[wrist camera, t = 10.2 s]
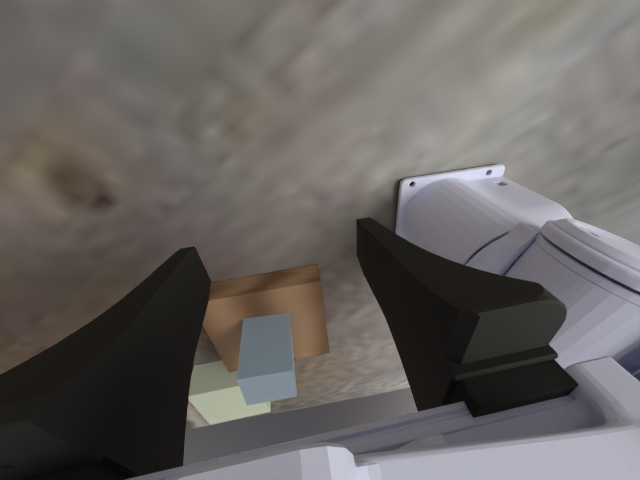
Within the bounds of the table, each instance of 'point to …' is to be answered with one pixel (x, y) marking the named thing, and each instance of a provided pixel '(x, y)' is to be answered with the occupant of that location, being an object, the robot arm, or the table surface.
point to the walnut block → (268, 310)
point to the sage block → (220, 394)
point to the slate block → (266, 359)
